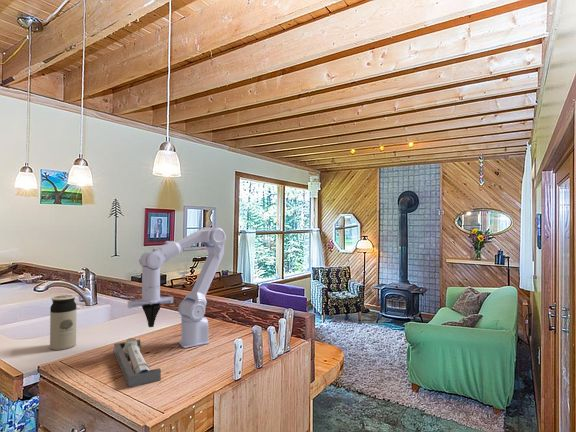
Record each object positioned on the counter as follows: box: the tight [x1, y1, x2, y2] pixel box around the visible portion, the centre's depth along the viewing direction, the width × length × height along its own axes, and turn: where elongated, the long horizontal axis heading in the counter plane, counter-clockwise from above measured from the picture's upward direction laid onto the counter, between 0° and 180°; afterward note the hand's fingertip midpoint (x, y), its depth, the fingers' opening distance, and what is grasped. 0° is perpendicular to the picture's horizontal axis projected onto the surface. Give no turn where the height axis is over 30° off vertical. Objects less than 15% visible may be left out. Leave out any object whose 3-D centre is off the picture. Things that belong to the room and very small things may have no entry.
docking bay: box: [113, 339, 162, 389], centre depth 112 cm, size 8×31×3 cm, turn 33°
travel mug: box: [49, 294, 77, 351], centre depth 129 cm, size 8×8×18 cm
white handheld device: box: [122, 337, 150, 374], centre depth 111 cm, size 5×7×25 cm
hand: (150, 326), depth 122 cm, fingers closed
